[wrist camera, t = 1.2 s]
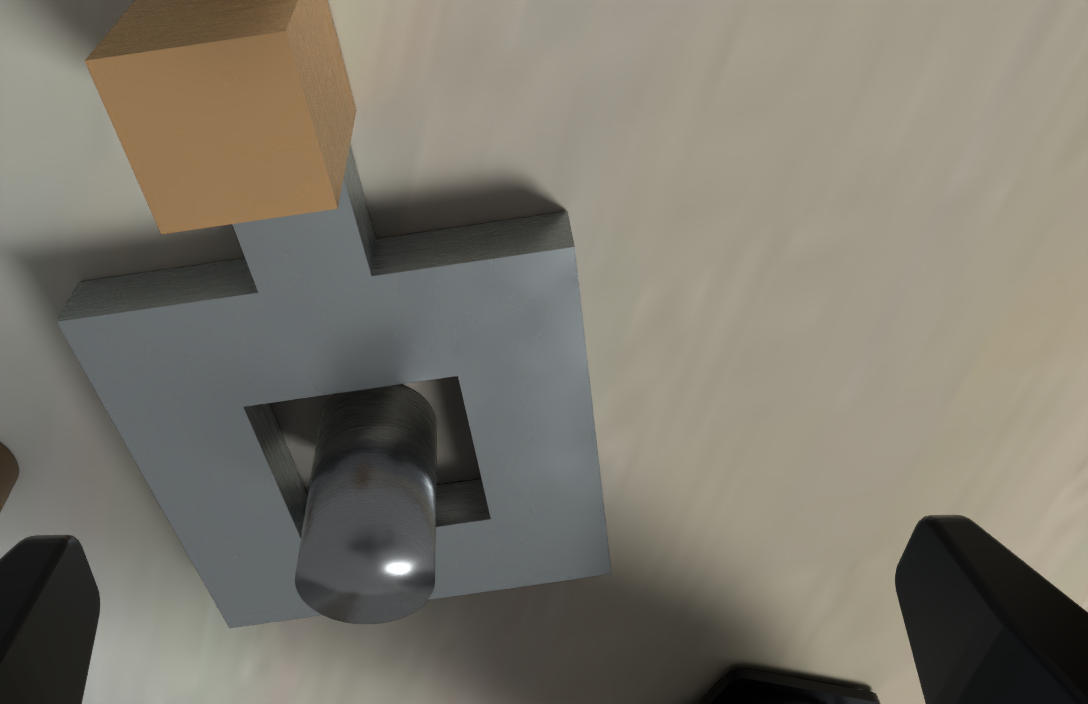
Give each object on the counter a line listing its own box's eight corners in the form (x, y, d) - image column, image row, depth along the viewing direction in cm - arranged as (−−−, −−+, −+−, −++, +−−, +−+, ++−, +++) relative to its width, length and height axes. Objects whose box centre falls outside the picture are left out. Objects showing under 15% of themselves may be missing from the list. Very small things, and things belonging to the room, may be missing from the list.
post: (453, 398, 23) (454, 552, 20) (415, 476, 25) (409, 633, 21) (337, 368, 22) (314, 524, 19) (306, 451, 24) (279, 610, 20)
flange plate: (604, 533, 27) (624, 651, 24) (238, 585, 27) (211, 709, 24) (534, -78, 17) (554, -9, 13) (-64, 11, 17) (-183, 99, 14)
